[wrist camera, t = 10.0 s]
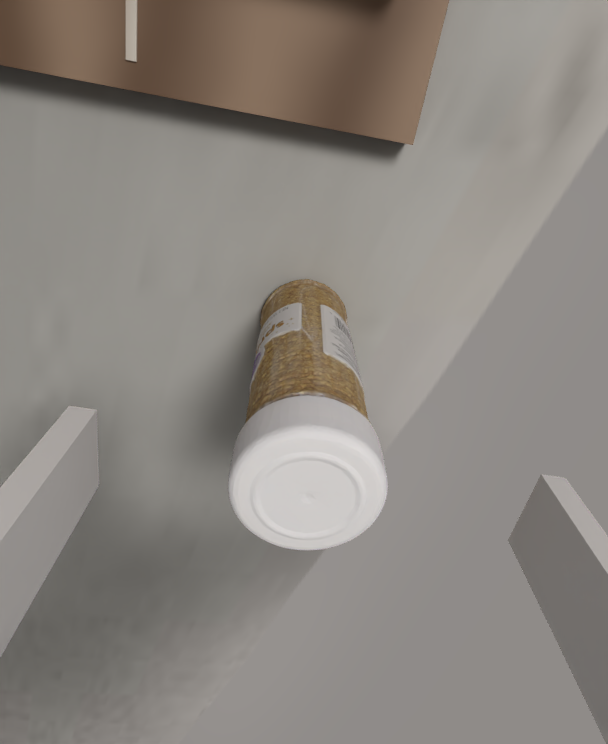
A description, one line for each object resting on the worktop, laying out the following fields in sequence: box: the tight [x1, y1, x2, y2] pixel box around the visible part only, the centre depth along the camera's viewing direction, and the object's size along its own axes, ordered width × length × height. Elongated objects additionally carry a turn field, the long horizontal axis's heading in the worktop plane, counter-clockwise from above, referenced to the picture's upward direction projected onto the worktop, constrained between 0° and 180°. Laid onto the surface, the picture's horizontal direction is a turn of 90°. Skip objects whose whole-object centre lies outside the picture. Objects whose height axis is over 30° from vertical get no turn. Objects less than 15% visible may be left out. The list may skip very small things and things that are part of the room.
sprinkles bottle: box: [228, 279, 388, 550], centre depth 19 cm, size 5×5×13 cm
